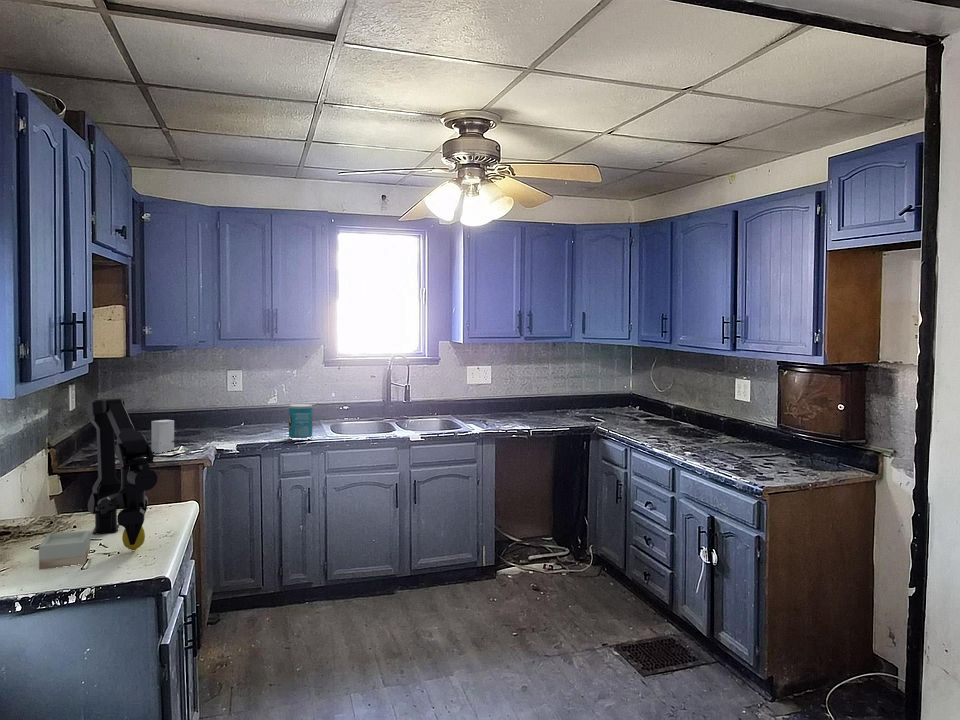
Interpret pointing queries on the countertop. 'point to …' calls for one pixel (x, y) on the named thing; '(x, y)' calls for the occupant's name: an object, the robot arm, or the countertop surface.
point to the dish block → (64, 545)
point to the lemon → (138, 542)
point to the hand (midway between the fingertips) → (133, 539)
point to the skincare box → (162, 436)
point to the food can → (300, 420)
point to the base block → (63, 561)
